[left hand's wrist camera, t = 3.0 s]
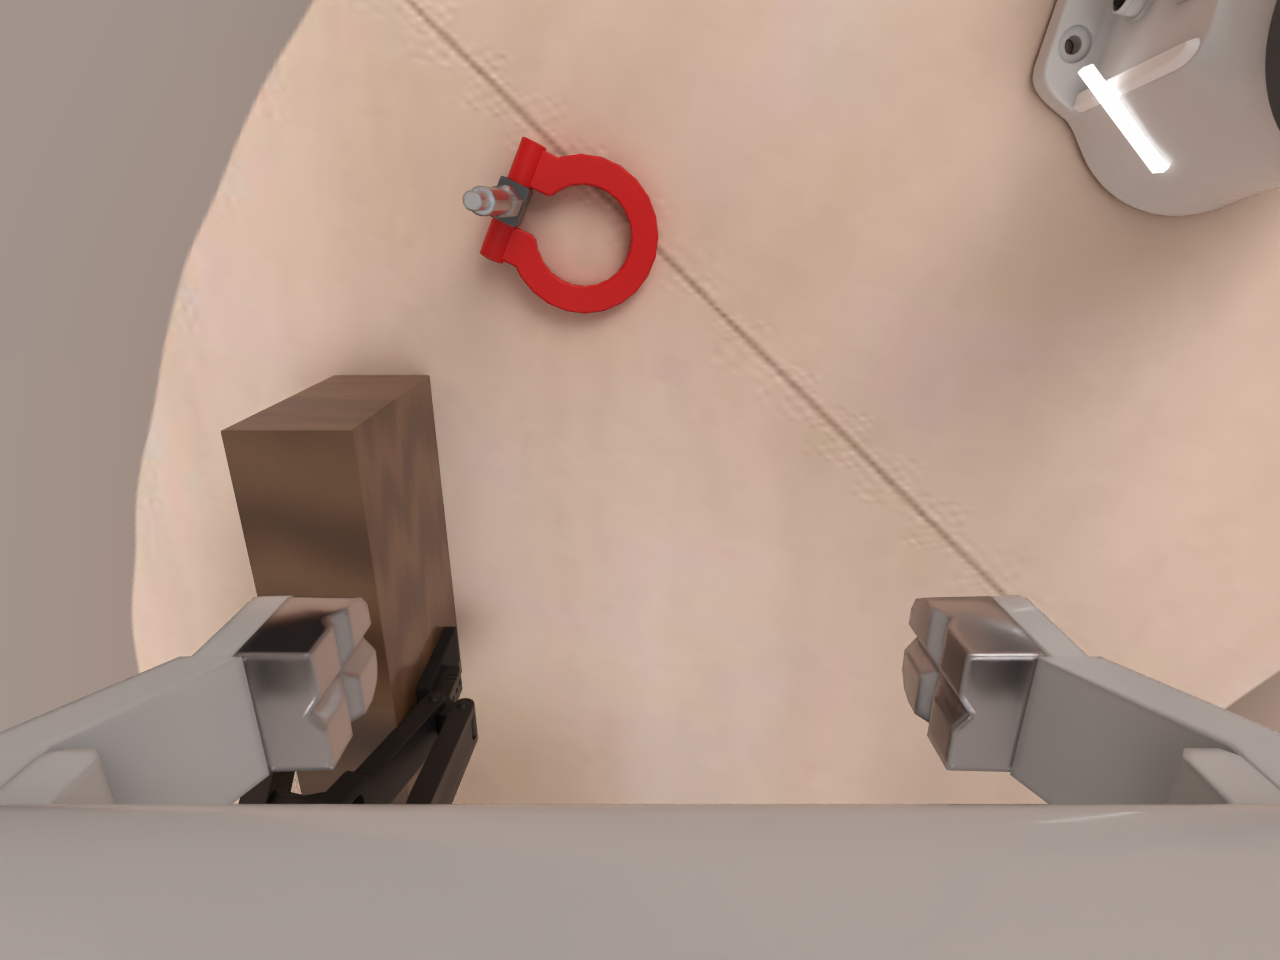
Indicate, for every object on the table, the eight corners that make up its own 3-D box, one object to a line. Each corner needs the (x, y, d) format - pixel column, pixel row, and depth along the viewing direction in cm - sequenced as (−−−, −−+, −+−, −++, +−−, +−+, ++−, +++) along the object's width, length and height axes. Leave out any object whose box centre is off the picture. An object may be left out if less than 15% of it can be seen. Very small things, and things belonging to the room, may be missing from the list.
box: (333, 375, 42) (219, 430, 31) (429, 375, 42) (351, 430, 31) (380, 672, 50) (303, 805, 38) (461, 672, 50) (409, 805, 38)
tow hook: (681, 198, 39) (529, 119, 37) (713, 195, 27) (491, 79, 25) (619, 333, 42) (474, 266, 40) (624, 385, 30) (417, 292, 28)
